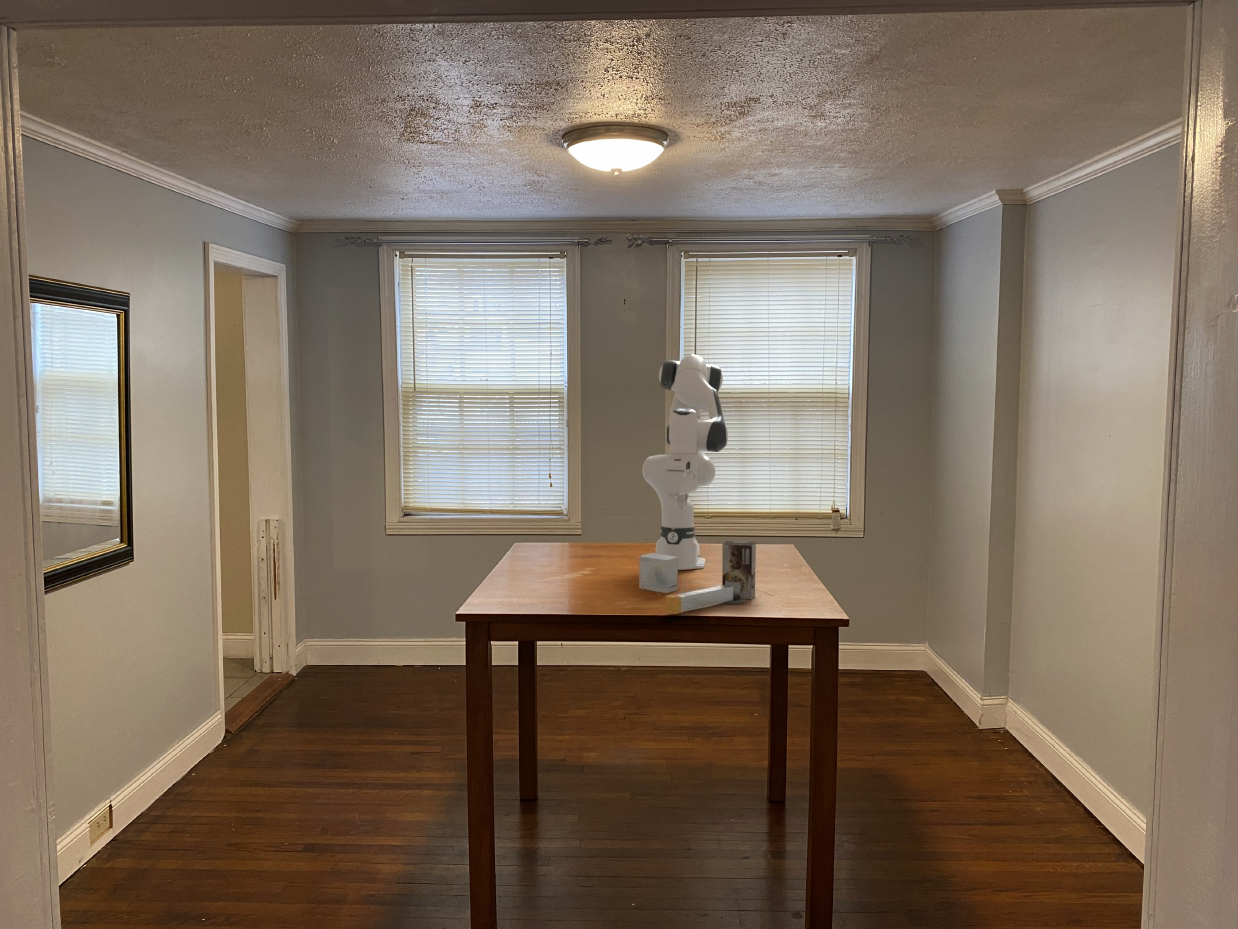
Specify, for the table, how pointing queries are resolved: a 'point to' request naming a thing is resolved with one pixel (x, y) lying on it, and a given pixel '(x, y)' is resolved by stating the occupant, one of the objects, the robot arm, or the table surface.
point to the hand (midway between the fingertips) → (682, 508)
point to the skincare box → (658, 572)
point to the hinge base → (735, 602)
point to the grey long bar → (703, 597)
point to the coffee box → (740, 565)
